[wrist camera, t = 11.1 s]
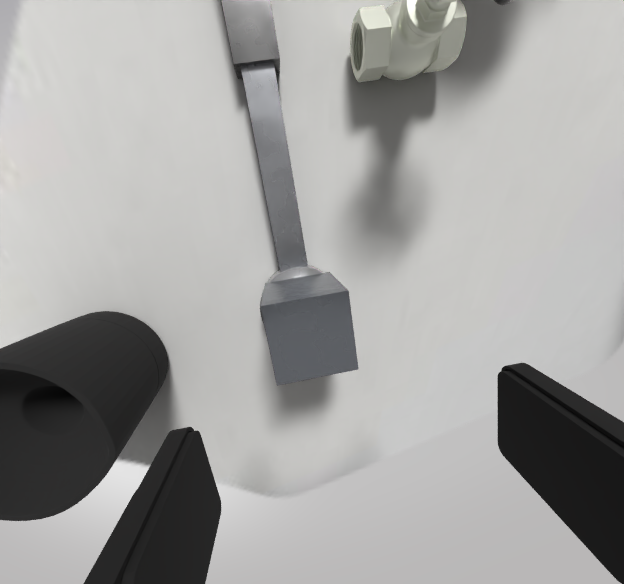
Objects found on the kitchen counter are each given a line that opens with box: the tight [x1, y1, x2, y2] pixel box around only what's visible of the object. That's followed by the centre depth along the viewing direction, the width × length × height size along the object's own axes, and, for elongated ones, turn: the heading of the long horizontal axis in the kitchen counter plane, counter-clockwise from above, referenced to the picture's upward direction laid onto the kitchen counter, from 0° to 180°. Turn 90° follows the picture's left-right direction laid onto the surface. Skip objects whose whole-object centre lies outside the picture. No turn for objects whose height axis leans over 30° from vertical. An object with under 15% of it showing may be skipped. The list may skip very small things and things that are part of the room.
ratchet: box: [221, 0, 323, 323], centre depth 20 cm, size 6×28×6 cm, turn 9°
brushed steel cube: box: [261, 272, 358, 385], centre depth 20 cm, size 5×5×6 cm
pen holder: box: [0, 311, 168, 521], centre depth 20 cm, size 9×9×10 cm
